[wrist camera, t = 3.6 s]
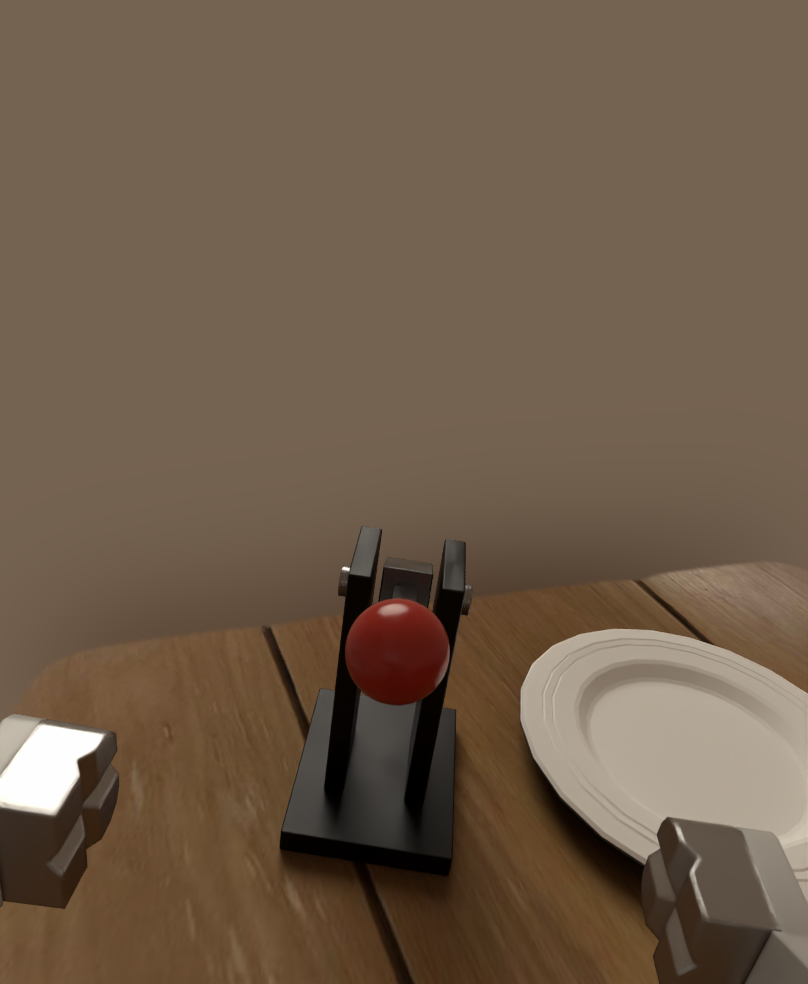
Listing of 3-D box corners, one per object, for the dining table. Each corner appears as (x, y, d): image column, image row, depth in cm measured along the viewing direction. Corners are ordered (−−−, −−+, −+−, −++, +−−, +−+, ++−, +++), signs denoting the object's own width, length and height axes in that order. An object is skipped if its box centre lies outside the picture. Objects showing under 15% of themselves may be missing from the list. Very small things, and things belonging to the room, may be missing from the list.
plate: (713, 1015, 31) (727, 987, 30) (446, 690, 47) (451, 666, 46) (968, 843, 41) (984, 819, 40) (678, 624, 57) (686, 603, 56)
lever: (442, 729, 23) (459, 620, 23) (331, 712, 23) (348, 603, 23) (436, 624, 36) (446, 554, 36) (365, 613, 36) (375, 544, 36)
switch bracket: (448, 876, 35) (503, 638, 29) (279, 849, 35) (299, 606, 29) (453, 724, 44) (495, 518, 38) (318, 703, 44) (339, 494, 38)
